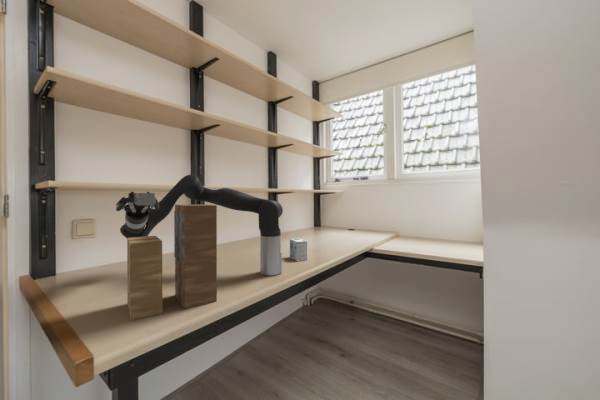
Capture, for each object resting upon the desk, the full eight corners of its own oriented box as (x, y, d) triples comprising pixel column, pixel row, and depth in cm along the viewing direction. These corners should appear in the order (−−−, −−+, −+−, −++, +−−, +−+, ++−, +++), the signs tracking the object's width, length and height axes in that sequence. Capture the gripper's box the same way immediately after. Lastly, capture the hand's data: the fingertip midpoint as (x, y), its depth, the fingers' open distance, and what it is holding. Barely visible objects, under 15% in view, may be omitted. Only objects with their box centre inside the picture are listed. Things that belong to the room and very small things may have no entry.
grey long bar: (132, 203, 90) (132, 192, 90) (145, 202, 92) (145, 193, 92) (138, 205, 72) (138, 193, 72) (154, 205, 75) (154, 193, 75)
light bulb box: (289, 257, 150) (289, 238, 149) (299, 256, 152) (299, 237, 152) (296, 261, 140) (296, 241, 140) (307, 260, 142) (307, 240, 142)
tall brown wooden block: (173, 295, 91) (173, 204, 91) (204, 289, 97) (204, 204, 97) (182, 309, 80) (182, 205, 79) (216, 301, 86) (216, 205, 86)
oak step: (127, 303, 84) (127, 237, 83) (155, 298, 88) (155, 235, 88) (130, 320, 72) (130, 244, 72) (162, 312, 77) (162, 241, 77)
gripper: (114, 207, 97) (114, 183, 85) (157, 206, 105) (163, 185, 93) (114, 225, 94) (115, 203, 82) (158, 223, 103) (164, 203, 90)
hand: (140, 194), depth 88 cm, fingers closed on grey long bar, 4 cm apart
